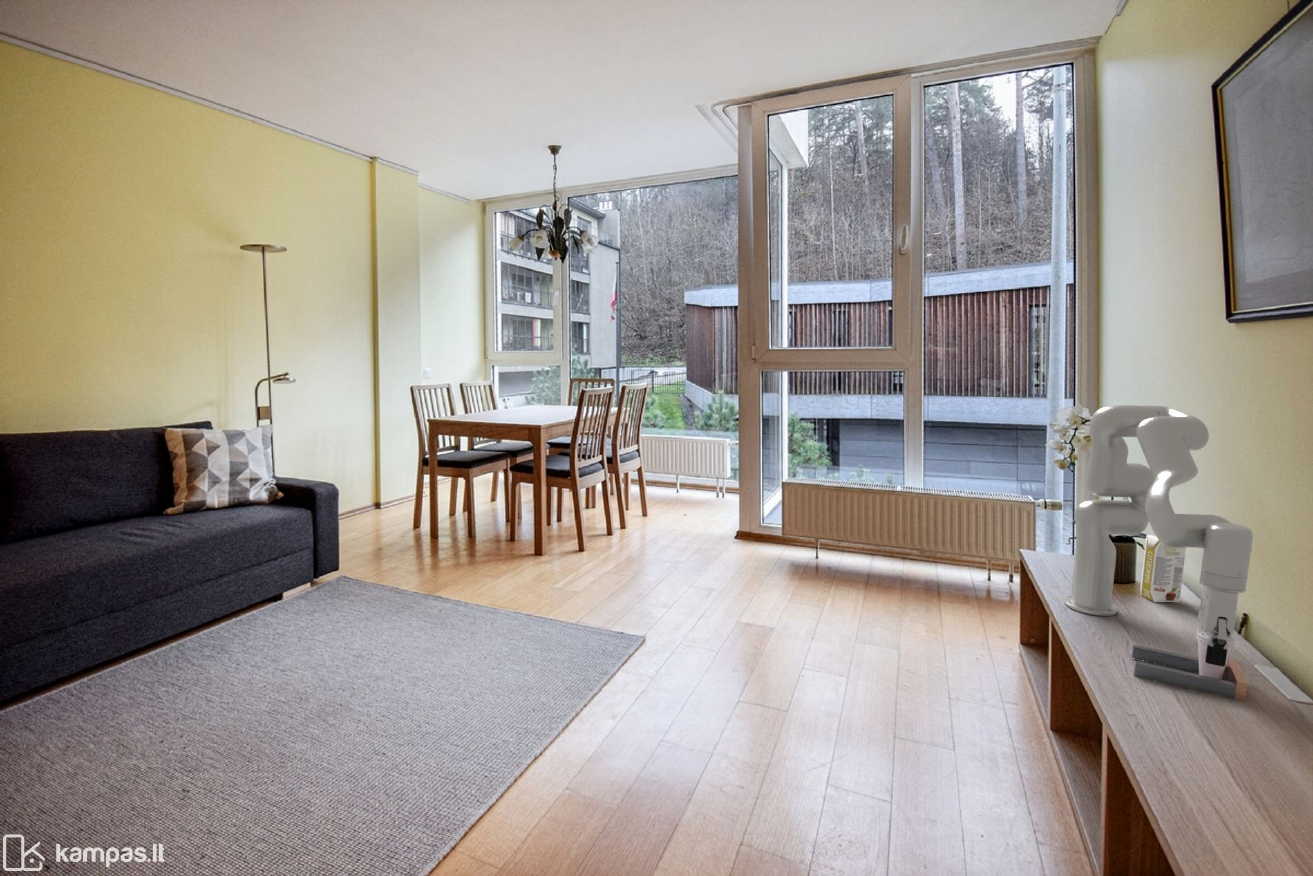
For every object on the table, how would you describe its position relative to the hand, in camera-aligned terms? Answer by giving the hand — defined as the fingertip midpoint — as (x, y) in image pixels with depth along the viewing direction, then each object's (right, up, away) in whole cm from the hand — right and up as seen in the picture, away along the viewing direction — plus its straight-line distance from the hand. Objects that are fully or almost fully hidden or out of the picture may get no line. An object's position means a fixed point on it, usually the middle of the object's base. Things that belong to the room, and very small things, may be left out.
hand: (1212, 657), depth 139 cm
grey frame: (-4, -6, +4) cm, 8 cm away
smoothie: (0, -5, +1) cm, 5 cm away
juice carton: (+28, 0, +49) cm, 56 cm away
